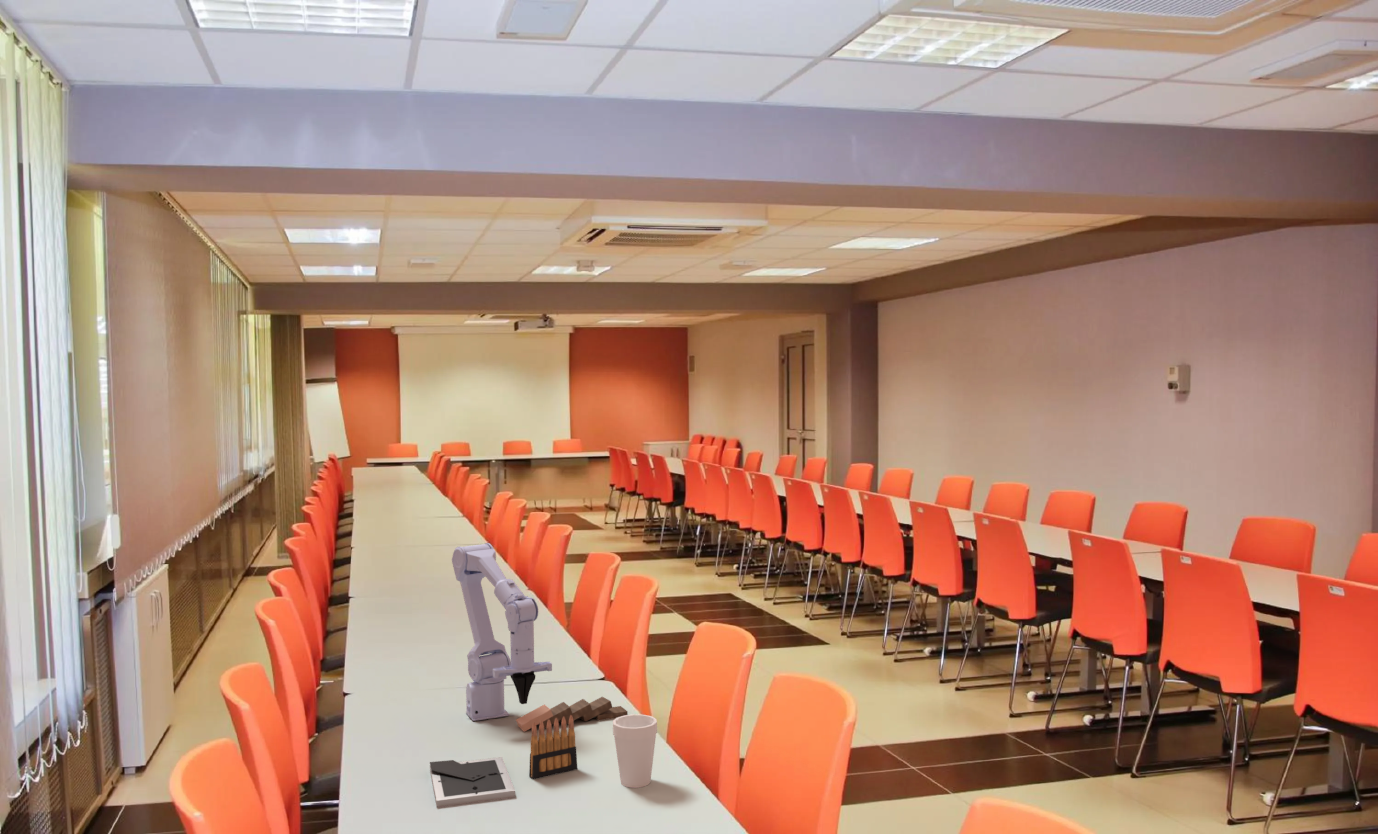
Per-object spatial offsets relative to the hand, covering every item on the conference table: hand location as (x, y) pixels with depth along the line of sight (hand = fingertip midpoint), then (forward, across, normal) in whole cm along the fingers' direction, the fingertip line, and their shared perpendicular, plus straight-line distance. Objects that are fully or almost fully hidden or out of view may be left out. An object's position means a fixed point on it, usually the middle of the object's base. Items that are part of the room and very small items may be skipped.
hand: (523, 702), depth 254 cm
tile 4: (+6, +15, 0) cm, 16 cm away
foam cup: (+7, +12, -45) cm, 47 cm away
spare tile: (+6, -1, 0) cm, 6 cm away
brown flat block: (+6, +19, 0) cm, 20 cm away
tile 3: (+6, +9, 0) cm, 11 cm away
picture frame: (+7, -20, -30) cm, 37 cm away
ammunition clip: (+7, -2, -32) cm, 33 cm away
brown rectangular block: (+6, +4, 0) cm, 7 cm away
